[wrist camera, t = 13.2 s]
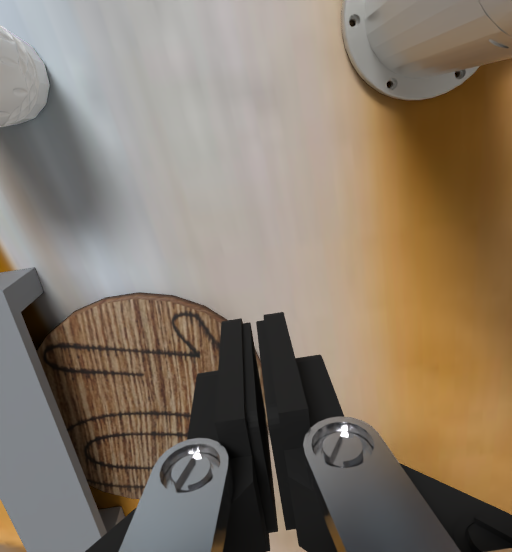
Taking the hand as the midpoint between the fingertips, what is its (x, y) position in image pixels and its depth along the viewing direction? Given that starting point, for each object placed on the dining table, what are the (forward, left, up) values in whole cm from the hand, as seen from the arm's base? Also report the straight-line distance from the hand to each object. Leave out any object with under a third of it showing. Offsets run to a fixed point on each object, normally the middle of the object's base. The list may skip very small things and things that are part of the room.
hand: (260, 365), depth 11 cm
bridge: (+24, +20, -27) cm, 41 cm away
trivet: (+13, +20, -28) cm, 36 cm away
